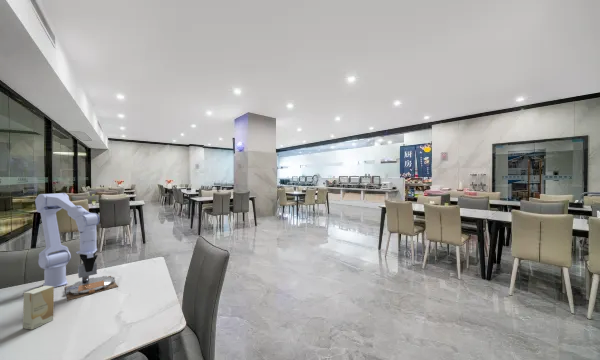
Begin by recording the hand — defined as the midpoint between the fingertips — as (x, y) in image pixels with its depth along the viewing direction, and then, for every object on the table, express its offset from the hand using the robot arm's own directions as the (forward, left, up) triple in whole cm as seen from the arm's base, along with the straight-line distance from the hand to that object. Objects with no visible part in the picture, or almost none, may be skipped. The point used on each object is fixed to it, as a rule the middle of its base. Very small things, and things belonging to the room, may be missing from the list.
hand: (88, 270), depth 109 cm
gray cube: (0, 0, -2) cm, 2 cm away
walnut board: (-4, +1, -9) cm, 10 cm away
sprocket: (-4, +1, -9) cm, 10 cm away
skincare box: (+20, -15, -10) cm, 27 cm away
